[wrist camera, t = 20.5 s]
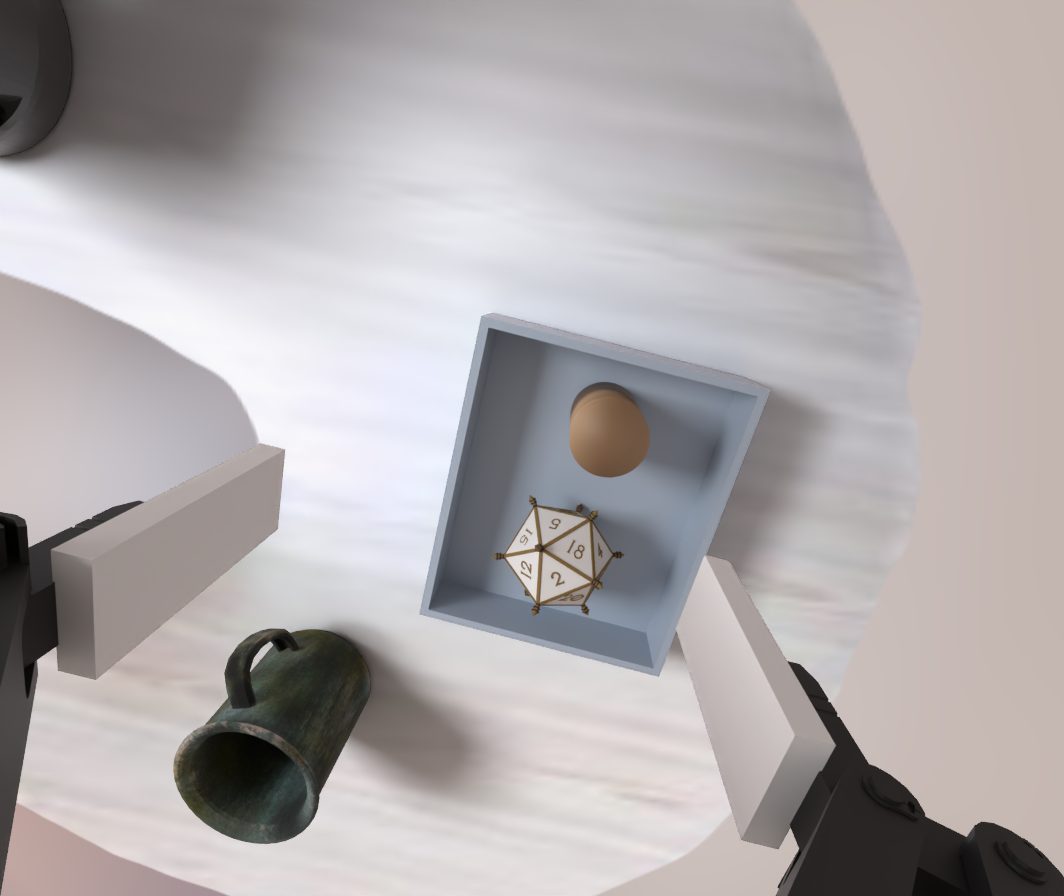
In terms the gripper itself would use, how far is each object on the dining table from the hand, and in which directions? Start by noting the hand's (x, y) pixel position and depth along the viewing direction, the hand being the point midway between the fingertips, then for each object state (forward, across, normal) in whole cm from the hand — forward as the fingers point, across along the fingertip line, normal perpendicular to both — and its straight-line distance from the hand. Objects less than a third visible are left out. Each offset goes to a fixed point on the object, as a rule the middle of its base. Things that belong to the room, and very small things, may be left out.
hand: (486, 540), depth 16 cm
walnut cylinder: (+24, +5, -1) cm, 25 cm away
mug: (+25, -14, -30) cm, 41 cm away
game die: (+24, +5, -11) cm, 27 cm away
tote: (+25, +5, -7) cm, 26 cm away
